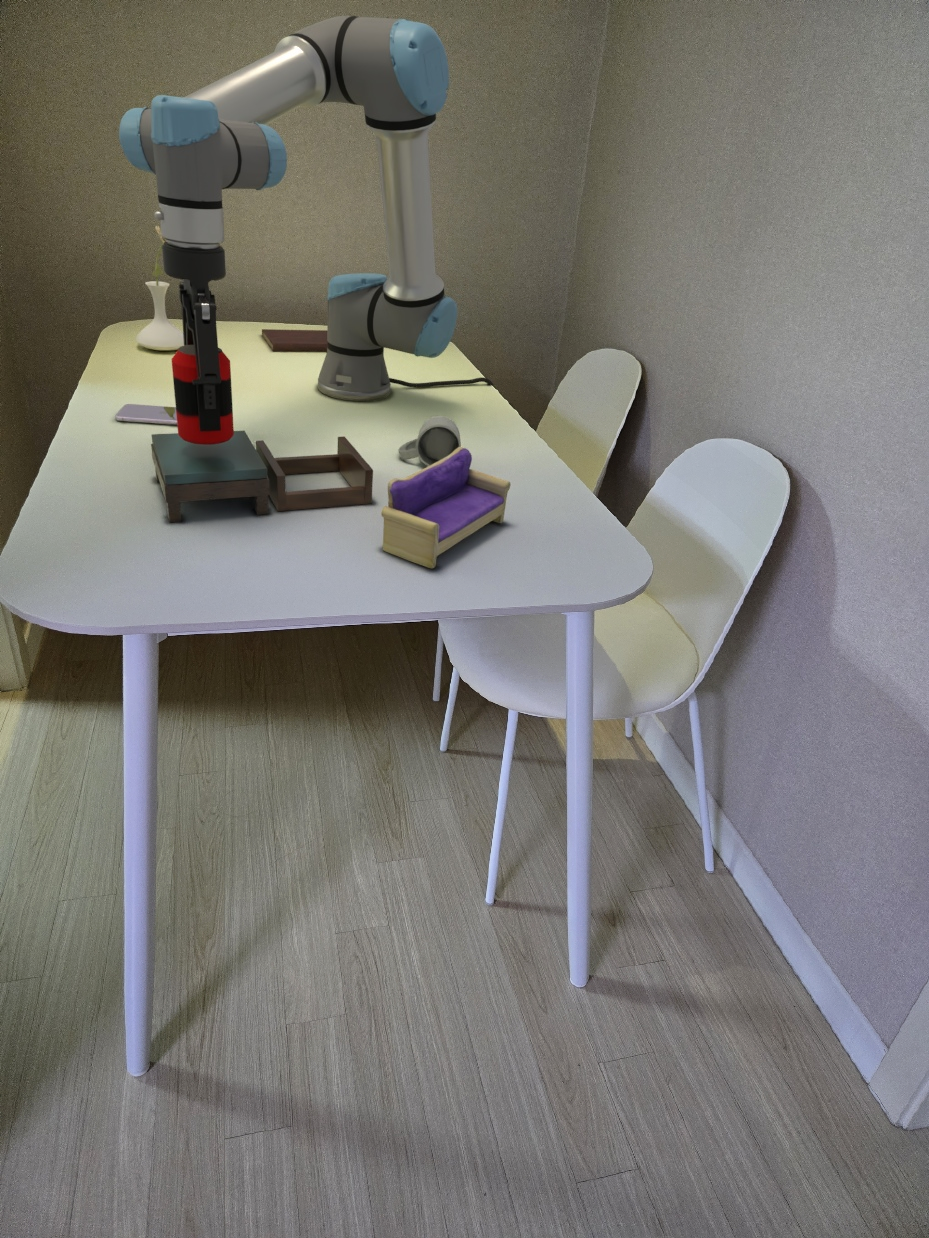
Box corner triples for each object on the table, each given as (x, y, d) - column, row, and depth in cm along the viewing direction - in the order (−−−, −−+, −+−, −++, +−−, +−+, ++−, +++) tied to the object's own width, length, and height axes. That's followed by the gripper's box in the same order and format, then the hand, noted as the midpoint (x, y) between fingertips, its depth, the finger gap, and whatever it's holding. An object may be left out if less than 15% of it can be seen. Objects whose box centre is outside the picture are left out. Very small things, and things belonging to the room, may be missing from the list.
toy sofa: (430, 572, 105) (436, 502, 100) (377, 551, 109) (381, 482, 103) (506, 523, 121) (516, 459, 115) (458, 505, 124) (465, 443, 119)
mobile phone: (124, 402, 145) (209, 408, 147) (125, 407, 145) (209, 413, 147) (113, 415, 138) (202, 421, 140) (113, 421, 139) (202, 427, 141)
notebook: (261, 335, 199) (261, 327, 198) (338, 336, 206) (338, 328, 205) (273, 351, 188) (272, 343, 187) (354, 352, 195) (354, 344, 194)
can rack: (343, 467, 132) (344, 436, 129) (371, 503, 122) (373, 469, 119) (256, 473, 127) (255, 440, 124) (277, 511, 116) (277, 476, 113)
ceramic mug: (458, 453, 143) (461, 412, 139) (458, 470, 136) (462, 427, 132) (399, 449, 143) (401, 407, 139) (397, 466, 136) (399, 422, 132)
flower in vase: (180, 357, 176) (170, 233, 163) (128, 351, 175) (114, 226, 162) (198, 343, 187) (190, 226, 174) (149, 337, 187) (137, 220, 173)
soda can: (220, 448, 109) (214, 360, 103) (168, 440, 110) (159, 352, 104) (242, 431, 116) (238, 347, 109) (193, 423, 116) (186, 339, 110)
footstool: (247, 472, 127) (245, 429, 123) (270, 514, 115) (269, 469, 111) (154, 478, 121) (149, 433, 117) (168, 523, 109) (163, 475, 105)
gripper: (152, 228, 106) (167, 398, 118) (172, 256, 90) (188, 447, 103) (210, 232, 109) (219, 396, 121) (239, 259, 93) (247, 444, 106)
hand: (205, 419), depth 112 cm, fingers closed on soda can, 8 cm apart
